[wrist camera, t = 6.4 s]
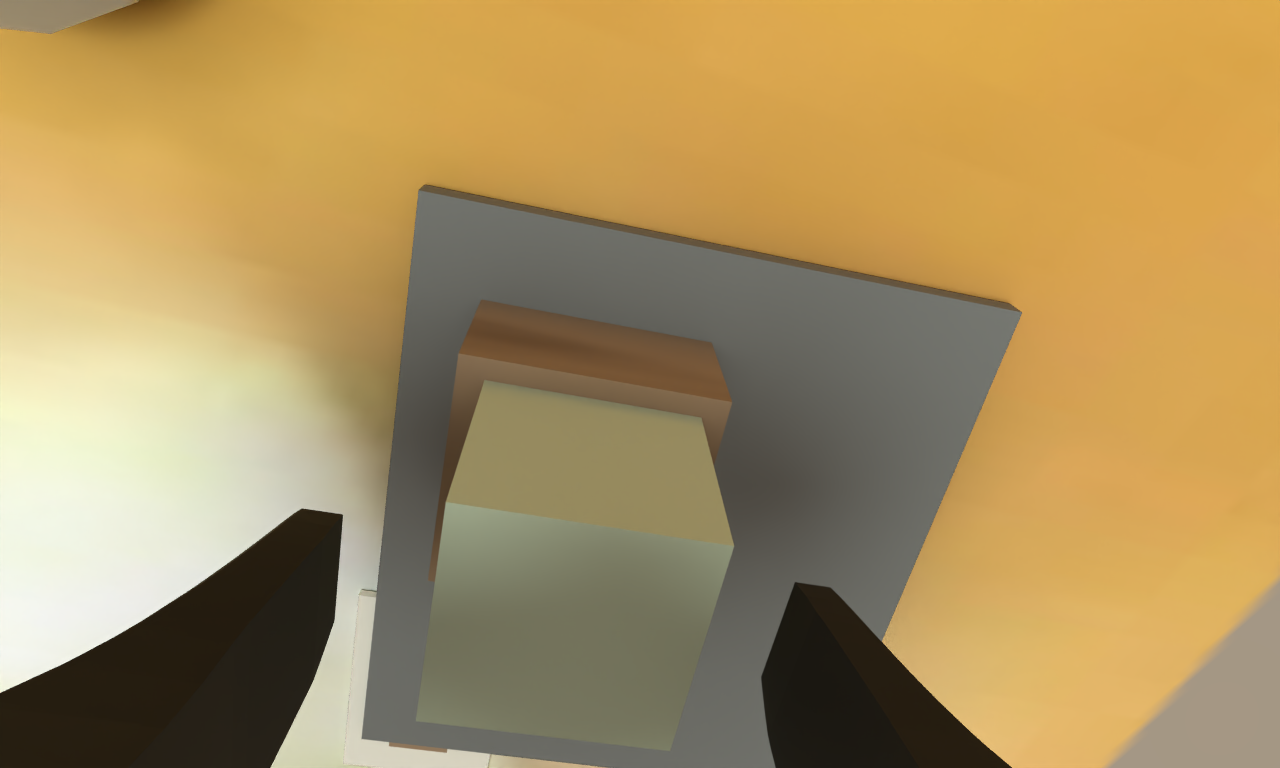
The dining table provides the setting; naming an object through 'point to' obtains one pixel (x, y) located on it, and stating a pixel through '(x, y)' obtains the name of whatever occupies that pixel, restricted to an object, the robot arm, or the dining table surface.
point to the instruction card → (392, 760)
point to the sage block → (574, 570)
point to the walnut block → (580, 373)
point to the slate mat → (747, 457)
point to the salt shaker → (53, 13)
